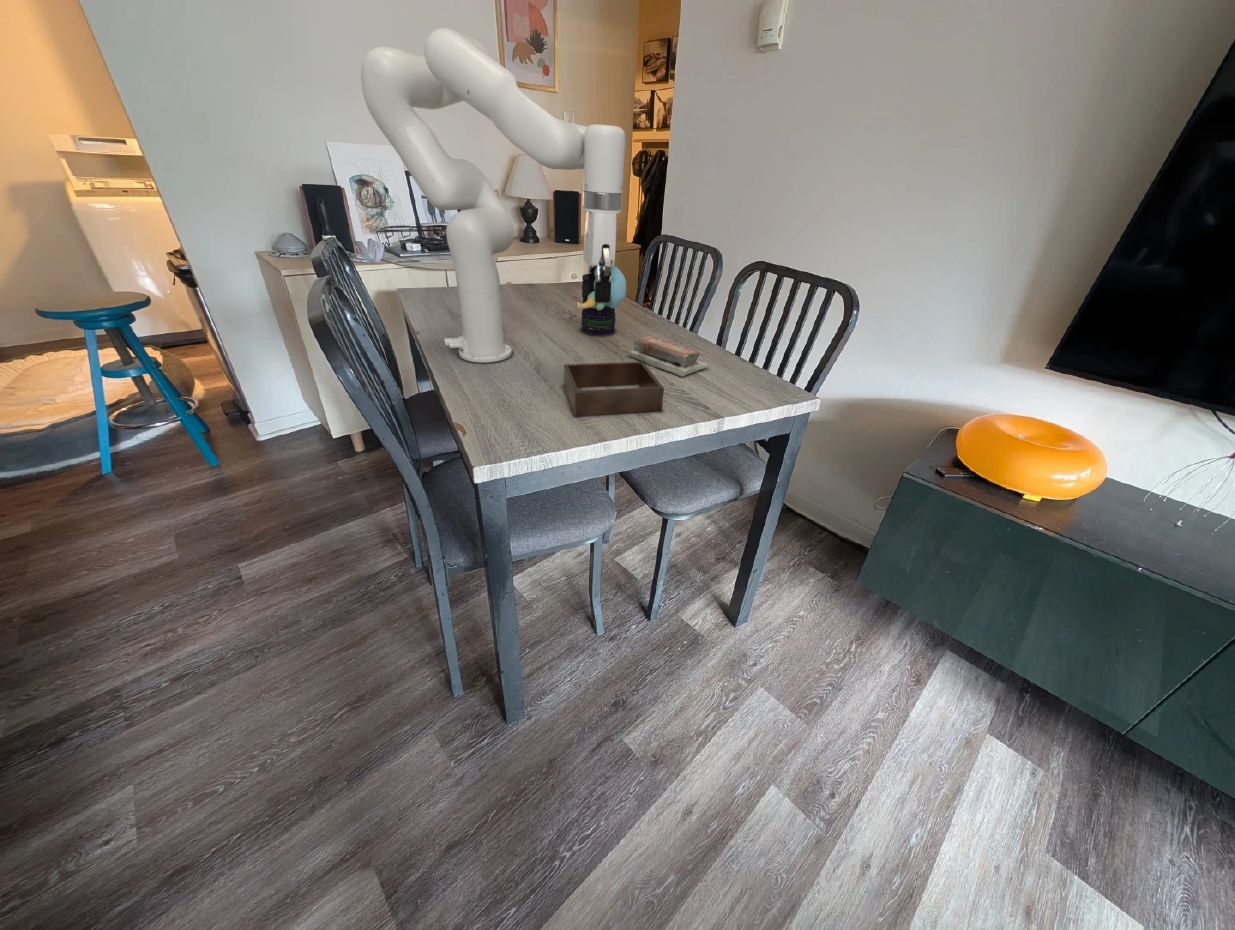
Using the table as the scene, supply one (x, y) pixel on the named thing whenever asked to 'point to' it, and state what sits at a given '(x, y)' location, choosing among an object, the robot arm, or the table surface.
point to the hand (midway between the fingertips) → (598, 296)
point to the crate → (612, 399)
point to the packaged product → (666, 355)
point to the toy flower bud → (616, 292)
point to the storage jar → (596, 316)
